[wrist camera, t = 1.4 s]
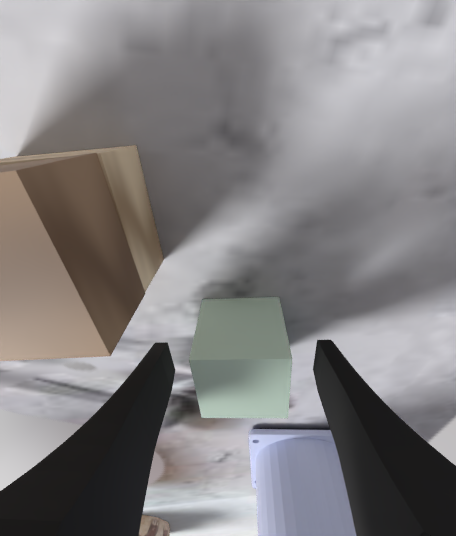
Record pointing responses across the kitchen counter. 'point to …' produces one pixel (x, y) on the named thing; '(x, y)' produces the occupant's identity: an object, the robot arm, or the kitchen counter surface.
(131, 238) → the beech base block
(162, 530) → the figurine
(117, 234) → the walnut top block
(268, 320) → the sage cube
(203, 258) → the kitchen counter surface
